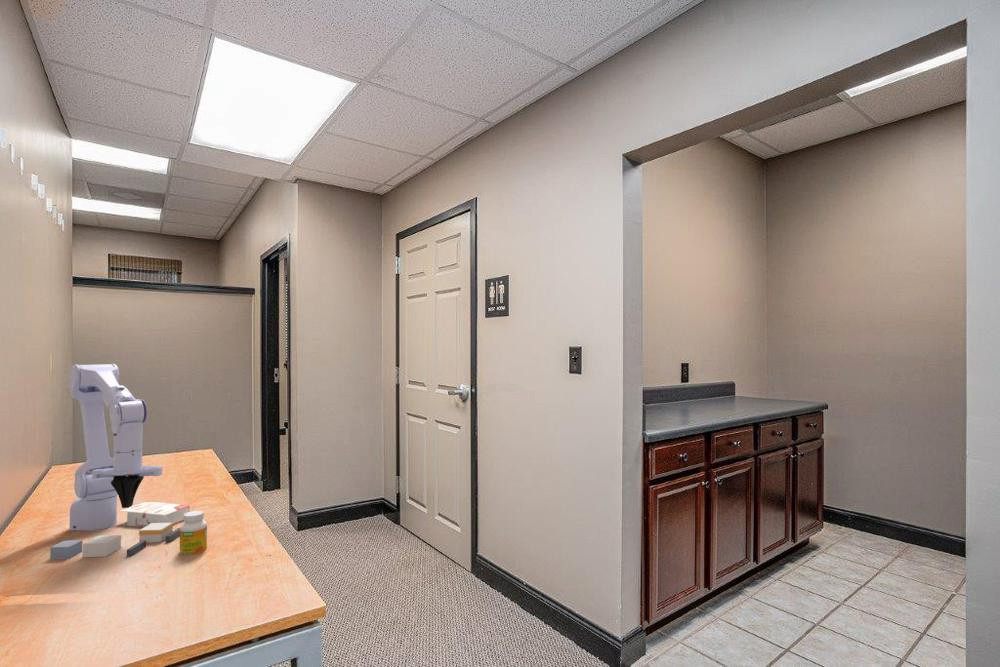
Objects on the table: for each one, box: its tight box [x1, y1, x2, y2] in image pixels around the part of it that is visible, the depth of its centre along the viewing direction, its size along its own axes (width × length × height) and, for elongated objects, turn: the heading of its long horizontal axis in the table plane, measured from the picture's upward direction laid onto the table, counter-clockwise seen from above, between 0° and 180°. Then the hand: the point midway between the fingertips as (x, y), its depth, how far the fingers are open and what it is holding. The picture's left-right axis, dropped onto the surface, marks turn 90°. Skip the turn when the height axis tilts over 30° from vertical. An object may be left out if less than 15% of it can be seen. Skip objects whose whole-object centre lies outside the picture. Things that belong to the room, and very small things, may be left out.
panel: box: [124, 527, 180, 558], centre depth 124 cm, size 16×16×3 cm
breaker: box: [138, 523, 174, 544], centre depth 128 cm, size 5×5×3 cm
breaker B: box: [82, 534, 122, 558], centre depth 119 cm, size 5×5×3 cm
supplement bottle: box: [179, 510, 208, 556], centre depth 121 cm, size 5×5×10 cm
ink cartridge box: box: [118, 501, 191, 528], centre depth 141 cm, size 9×5×15 cm
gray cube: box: [49, 539, 83, 560], centre depth 118 cm, size 4×4×4 cm
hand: (127, 506), depth 127 cm, fingers closed
